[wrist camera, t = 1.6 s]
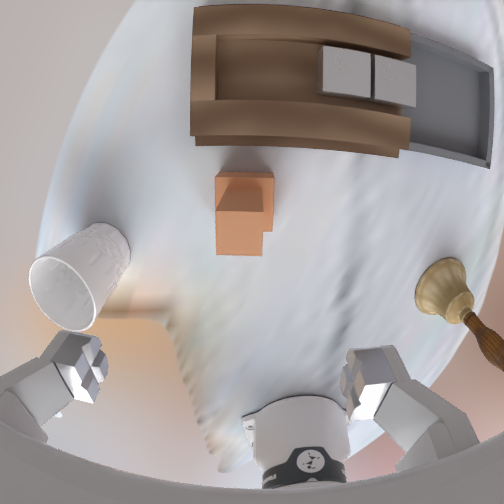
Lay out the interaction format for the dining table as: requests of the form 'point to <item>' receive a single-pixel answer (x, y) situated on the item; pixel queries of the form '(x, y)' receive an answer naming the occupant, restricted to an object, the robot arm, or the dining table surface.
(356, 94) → the light grey block
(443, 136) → the tray
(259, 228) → the stepped wedge block
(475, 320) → the hand bell
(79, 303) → the white cup
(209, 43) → the slot board
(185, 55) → the dining table surface
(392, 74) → the grey square block
